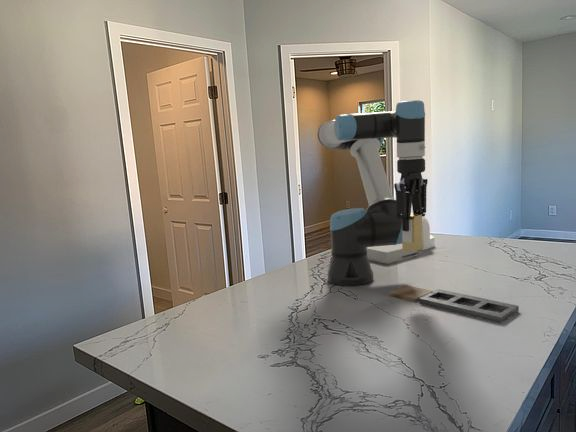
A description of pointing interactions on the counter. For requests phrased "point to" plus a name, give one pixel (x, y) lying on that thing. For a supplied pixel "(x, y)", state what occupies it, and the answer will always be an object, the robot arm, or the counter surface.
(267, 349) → the counter surface
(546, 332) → the counter surface
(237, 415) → the counter surface
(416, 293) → the walnut pad
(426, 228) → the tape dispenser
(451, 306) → the grey flat slotted block
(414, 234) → the square wooden peg
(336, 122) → the robot arm
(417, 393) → the counter surface
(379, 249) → the disc drive
